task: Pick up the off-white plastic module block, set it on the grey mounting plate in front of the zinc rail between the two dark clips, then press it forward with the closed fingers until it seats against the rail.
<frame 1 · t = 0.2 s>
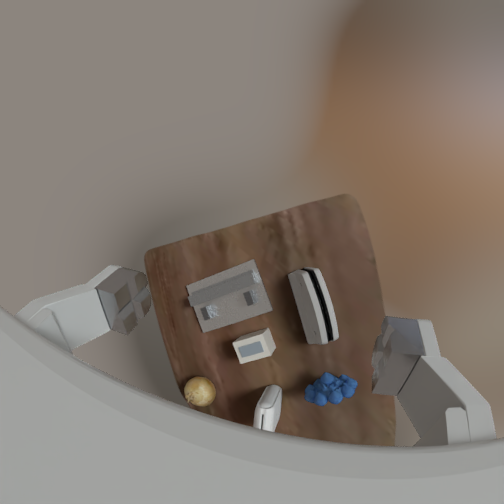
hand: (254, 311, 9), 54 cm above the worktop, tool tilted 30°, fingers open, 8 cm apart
grapes: (329, 375, 59), on the worktop
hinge: (314, 304, 61), on the worktop
module: (258, 341, 64), on the worktop
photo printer: (273, 401, 63), on the worktop
rail base: (228, 297, 66), on the worktop
onion: (205, 386, 67), on the worktop
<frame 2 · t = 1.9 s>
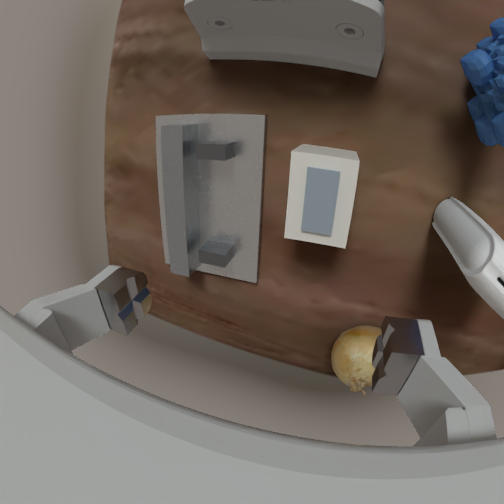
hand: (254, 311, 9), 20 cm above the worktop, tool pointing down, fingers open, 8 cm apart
grapes: (467, 81, 17), on the worktop
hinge: (293, 27, 20), on the worktop
module: (325, 183, 26), on the worktop
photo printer: (468, 233, 23), on the worktop
rail base: (208, 197, 30), on the worktop
onion: (364, 338, 33), on the worktop
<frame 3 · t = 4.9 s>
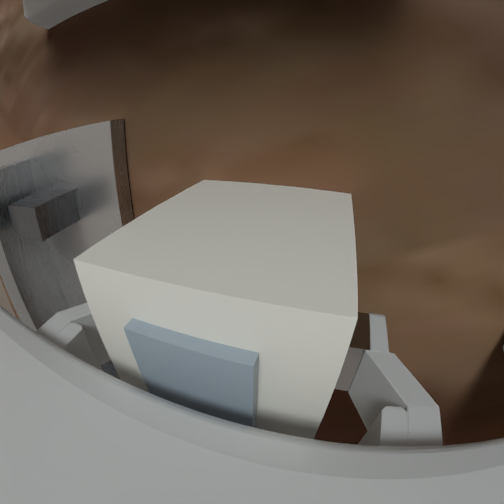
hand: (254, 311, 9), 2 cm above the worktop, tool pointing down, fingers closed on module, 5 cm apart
module: (270, 276, 11), on the worktop, touching gripper
rail base: (76, 282, 15), on the worktop
when the fingers open (5 cm above the worktop, at t = 9.9 s): module drops 2 cm, resting on rail base.
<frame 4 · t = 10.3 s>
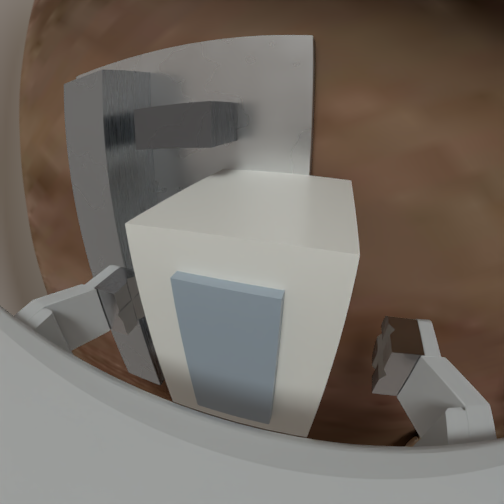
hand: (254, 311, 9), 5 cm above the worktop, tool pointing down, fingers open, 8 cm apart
module: (280, 255, 12), point 1 cm above the worktop, touching rail base
rail base: (183, 234, 14), on the worktop
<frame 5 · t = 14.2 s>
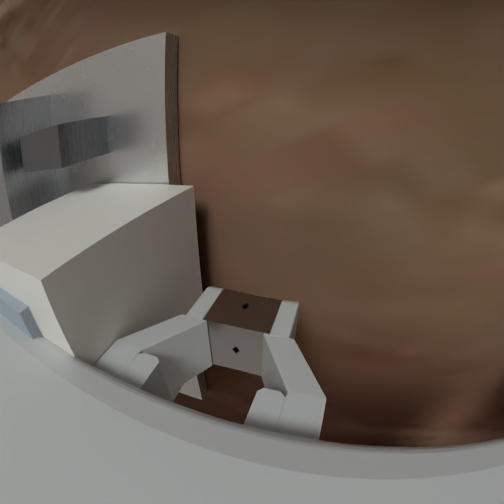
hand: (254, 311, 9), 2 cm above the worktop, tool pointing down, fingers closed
module: (147, 266, 11), point 1 cm above the worktop, touching gripper
rail base: (90, 244, 13), on the worktop
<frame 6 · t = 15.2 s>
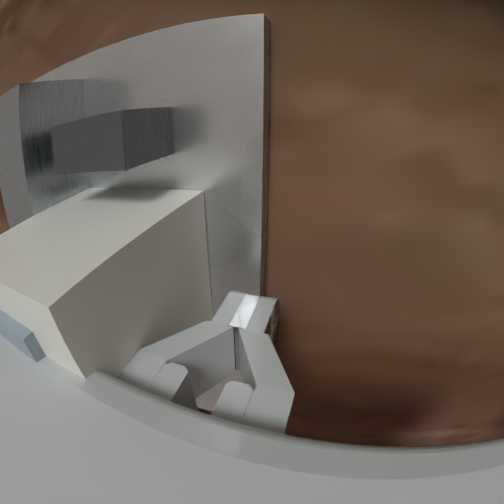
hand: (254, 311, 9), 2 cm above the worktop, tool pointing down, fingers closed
module: (152, 275, 11), point 1 cm above the worktop, touching gripper, rail base
rail base: (131, 261, 12), on the worktop
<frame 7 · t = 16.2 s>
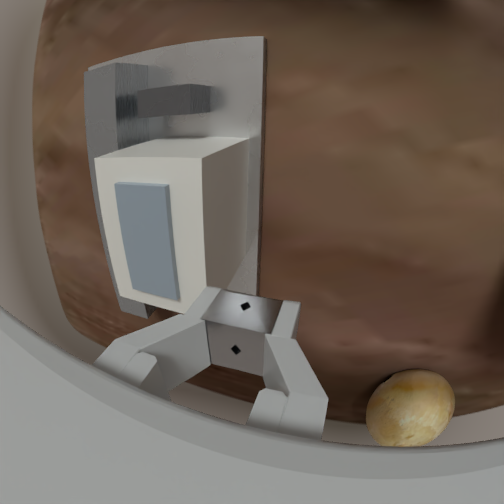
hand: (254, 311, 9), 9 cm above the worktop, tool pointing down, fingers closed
module: (205, 196, 16), point 1 cm above the worktop, touching rail base
rail base: (170, 187, 18), on the worktop
onion: (407, 382, 21), on the worktop
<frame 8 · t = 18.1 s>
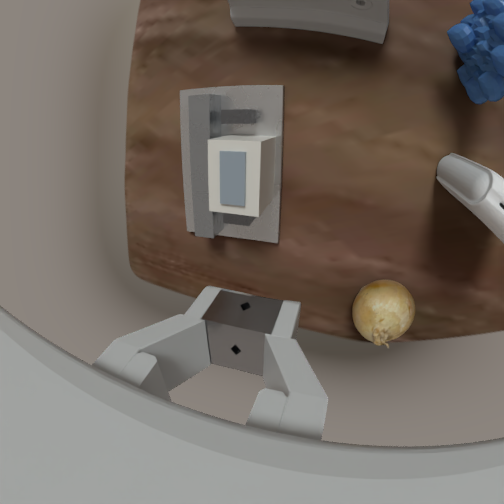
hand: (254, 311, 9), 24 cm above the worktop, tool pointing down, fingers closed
grapes: (456, 54, 18), on the worktop
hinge: (310, 2, 21), on the worktop
module: (252, 166, 31), point 1 cm above the worktop, touching rail base
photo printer: (469, 187, 25), on the worktop
rail base: (230, 163, 32), on the worktop
onion: (381, 296, 34), on the worktop
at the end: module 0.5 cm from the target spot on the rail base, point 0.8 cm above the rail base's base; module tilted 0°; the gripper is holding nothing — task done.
